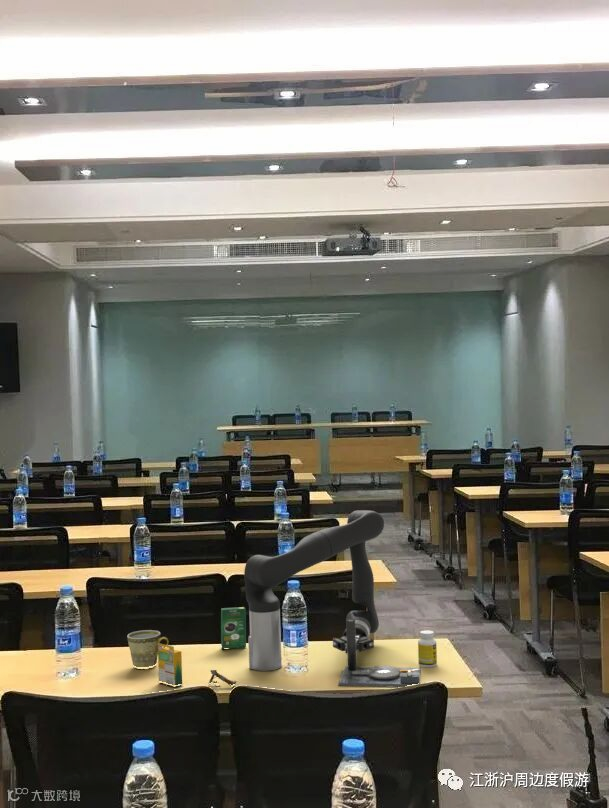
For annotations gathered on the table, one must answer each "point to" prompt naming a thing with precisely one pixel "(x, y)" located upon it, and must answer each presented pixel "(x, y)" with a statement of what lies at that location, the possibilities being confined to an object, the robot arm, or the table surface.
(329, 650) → the table surface
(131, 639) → the ceramic cup
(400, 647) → the table surface
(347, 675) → the base plate
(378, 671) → the upright bar with disc
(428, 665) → the supplement bottle
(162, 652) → the crayon box
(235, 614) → the coffee box
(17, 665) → the table surface
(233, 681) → the wooden post with brackets
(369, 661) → the table surface
